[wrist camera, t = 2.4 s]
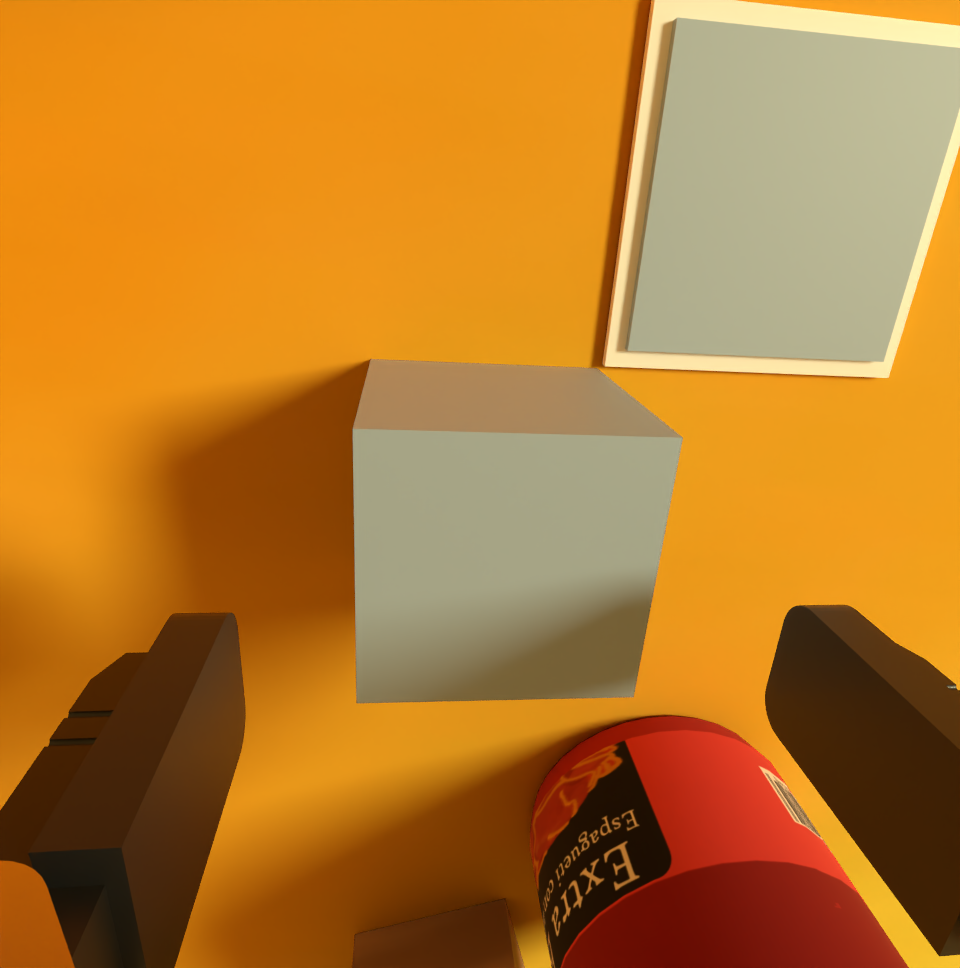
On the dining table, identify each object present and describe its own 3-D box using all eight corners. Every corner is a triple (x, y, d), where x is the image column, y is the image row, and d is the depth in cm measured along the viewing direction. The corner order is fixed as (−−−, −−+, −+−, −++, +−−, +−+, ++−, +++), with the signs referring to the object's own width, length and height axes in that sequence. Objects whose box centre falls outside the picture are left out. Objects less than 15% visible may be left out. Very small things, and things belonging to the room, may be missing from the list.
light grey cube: (370, 358, 14) (352, 428, 9) (595, 367, 14) (683, 437, 10) (371, 561, 16) (356, 703, 11) (570, 562, 16) (633, 696, 12)
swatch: (652, -5, 12) (659, -12, 11) (986, 32, 13) (1003, 27, 12) (602, 364, 14) (607, 368, 14) (883, 376, 15) (894, 380, 15)
